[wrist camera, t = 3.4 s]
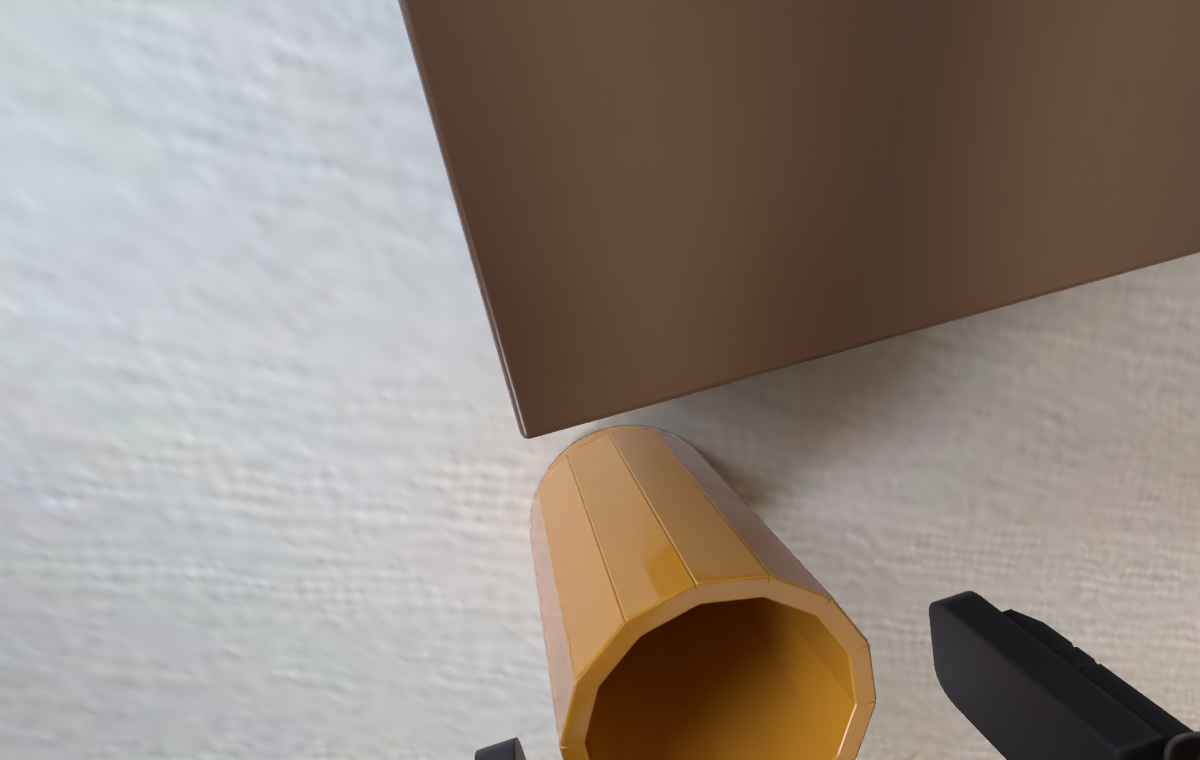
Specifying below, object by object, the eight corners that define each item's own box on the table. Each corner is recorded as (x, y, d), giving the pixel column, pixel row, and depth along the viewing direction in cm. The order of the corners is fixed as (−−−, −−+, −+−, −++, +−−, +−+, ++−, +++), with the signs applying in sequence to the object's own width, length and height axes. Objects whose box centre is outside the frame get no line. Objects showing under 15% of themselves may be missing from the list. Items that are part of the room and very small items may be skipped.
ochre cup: (557, 623, 20) (606, 898, 12) (507, 453, 18) (525, 636, 10) (730, 569, 21) (889, 795, 12) (697, 400, 19) (856, 532, 11)
